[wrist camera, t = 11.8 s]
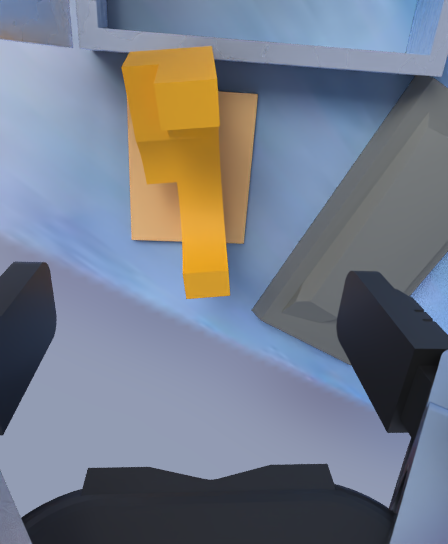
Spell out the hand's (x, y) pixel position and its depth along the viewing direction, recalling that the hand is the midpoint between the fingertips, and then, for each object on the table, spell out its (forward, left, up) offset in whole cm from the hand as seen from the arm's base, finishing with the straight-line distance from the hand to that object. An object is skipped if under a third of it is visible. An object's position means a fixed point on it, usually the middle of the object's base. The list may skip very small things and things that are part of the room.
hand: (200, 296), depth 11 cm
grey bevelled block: (-14, +5, -19) cm, 24 cm away
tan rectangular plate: (0, +1, -18) cm, 18 cm away
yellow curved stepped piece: (+1, -1, -17) cm, 17 cm away
